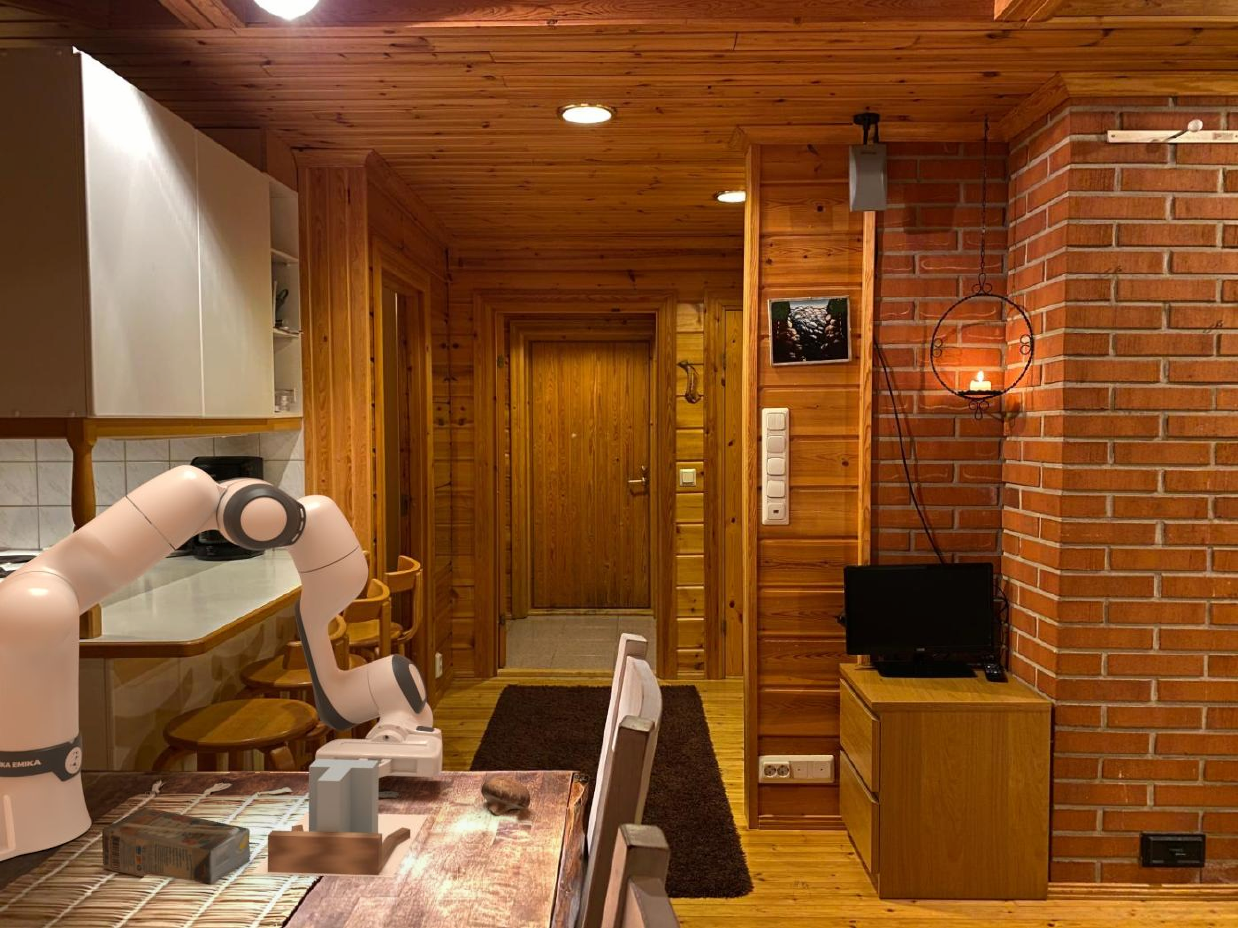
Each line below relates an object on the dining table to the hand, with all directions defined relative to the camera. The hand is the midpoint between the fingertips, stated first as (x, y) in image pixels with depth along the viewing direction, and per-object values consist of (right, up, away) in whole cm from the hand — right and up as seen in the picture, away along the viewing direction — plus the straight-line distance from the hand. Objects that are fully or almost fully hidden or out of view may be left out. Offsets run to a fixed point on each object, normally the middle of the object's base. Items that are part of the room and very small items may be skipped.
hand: (366, 775), depth 141 cm
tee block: (0, -6, -14) cm, 15 cm away
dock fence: (0, -6, -14) cm, 15 cm away
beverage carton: (-21, -7, -17) cm, 28 cm away
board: (0, -7, -10) cm, 12 cm away
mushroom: (+21, -7, +3) cm, 23 cm away
